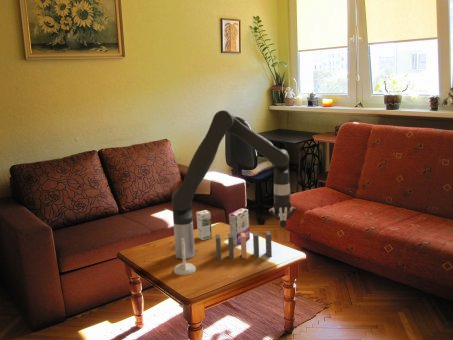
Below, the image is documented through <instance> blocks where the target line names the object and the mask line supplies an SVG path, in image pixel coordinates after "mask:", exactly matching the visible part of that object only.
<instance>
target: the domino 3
mask: <svg viewBox="0 0 453 340" xmlns="http://www.w3.org/2000/svg"><path fill="white" fill-rule="evenodd" d="M240 248H241V249H240V250H241V251H240V252H241V254H242V255H241V259H242V258H245V259H247V258H248V257H247V256H248V255H247V241H246V235H245V233H241V244H240Z"/></svg>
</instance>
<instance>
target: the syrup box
mask: <svg viewBox="0 0 453 340" xmlns="http://www.w3.org/2000/svg"><path fill="white" fill-rule="evenodd" d="M195 213H196V214H195V215H196V224H197V225H196V227H197V237H198V238H199V239H200V240H201V241H206V240H209V239H212V238H213V232H212V220H211V219H212V217H211V211H209V210H207V209H205V210H201V211H196V212H195Z"/></svg>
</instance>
